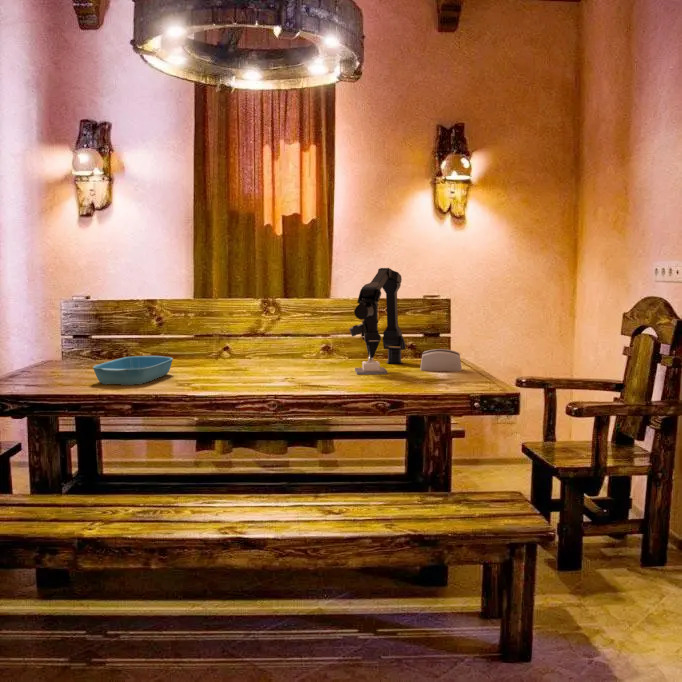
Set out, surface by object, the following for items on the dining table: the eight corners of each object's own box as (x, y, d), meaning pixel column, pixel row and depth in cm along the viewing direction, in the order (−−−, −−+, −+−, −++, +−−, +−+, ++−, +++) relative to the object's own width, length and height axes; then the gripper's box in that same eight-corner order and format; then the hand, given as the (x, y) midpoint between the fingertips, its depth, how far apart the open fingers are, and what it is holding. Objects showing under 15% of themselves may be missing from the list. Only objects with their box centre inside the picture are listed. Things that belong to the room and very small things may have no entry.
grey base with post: (354, 370, 298) (354, 352, 298) (383, 369, 299) (383, 351, 298) (357, 374, 286) (357, 355, 286) (387, 374, 287) (387, 355, 286)
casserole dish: (141, 388, 260) (140, 368, 259) (83, 387, 264) (82, 367, 263) (181, 373, 296) (180, 355, 295) (130, 372, 300) (129, 354, 299)
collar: (362, 368, 296) (362, 361, 295) (378, 368, 296) (377, 361, 296) (363, 370, 289) (363, 363, 289) (379, 370, 290) (379, 363, 289)
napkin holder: (461, 369, 299) (461, 347, 295) (461, 374, 295) (461, 352, 290) (420, 368, 302) (420, 347, 298) (420, 374, 298) (419, 352, 293)
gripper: (348, 316, 299) (349, 353, 301) (352, 319, 281) (352, 359, 282) (375, 315, 300) (375, 353, 301) (380, 319, 281) (380, 359, 283)
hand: (370, 356), depth 292 cm, fingers open, 9 cm apart
